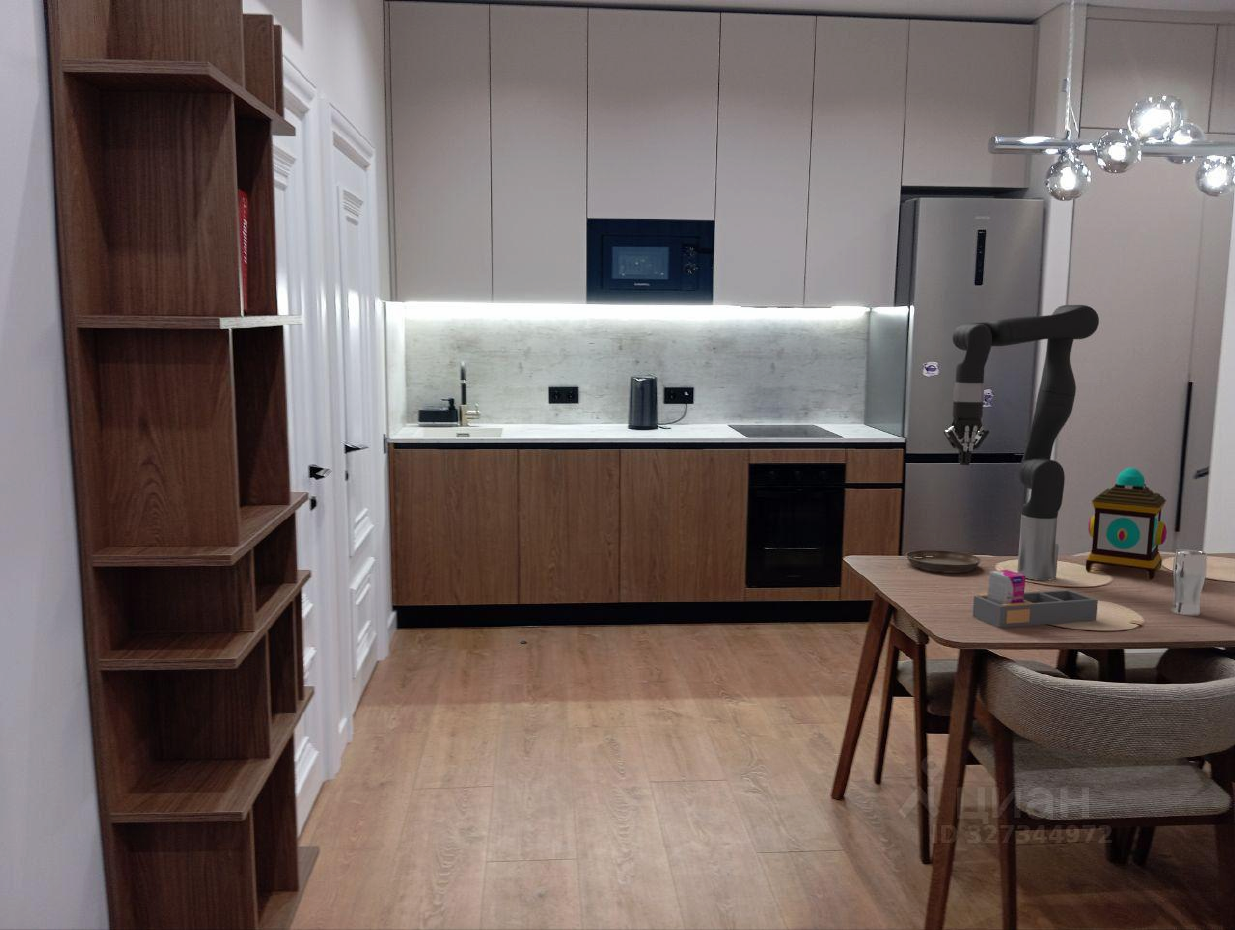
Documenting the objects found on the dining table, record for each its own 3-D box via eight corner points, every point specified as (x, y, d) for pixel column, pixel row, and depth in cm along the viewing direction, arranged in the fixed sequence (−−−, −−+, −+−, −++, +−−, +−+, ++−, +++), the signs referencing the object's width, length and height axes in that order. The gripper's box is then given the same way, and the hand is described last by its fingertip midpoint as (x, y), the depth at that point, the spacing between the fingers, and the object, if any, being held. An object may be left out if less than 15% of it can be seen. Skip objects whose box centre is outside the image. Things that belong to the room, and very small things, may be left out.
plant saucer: (895, 559, 293) (895, 548, 293) (962, 559, 294) (963, 548, 294) (920, 575, 273) (921, 564, 272) (992, 576, 274) (993, 564, 273)
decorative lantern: (1079, 572, 279) (1087, 467, 275) (1091, 560, 295) (1099, 461, 292) (1158, 583, 268) (1168, 474, 264) (1166, 569, 284) (1175, 467, 280)
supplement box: (1004, 625, 225) (1007, 576, 223) (984, 618, 230) (988, 571, 229) (1022, 622, 227) (1026, 574, 226) (1003, 616, 233) (1006, 568, 231)
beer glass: (1201, 618, 234) (1207, 556, 232) (1168, 613, 237) (1174, 552, 235) (1202, 611, 239) (1208, 551, 238) (1170, 607, 243) (1175, 547, 241)
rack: (1067, 609, 239) (1068, 588, 239) (1097, 620, 230) (1098, 598, 229) (972, 616, 232) (974, 594, 231) (999, 628, 222) (1001, 605, 222)
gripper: (980, 399, 264) (976, 462, 267) (938, 399, 261) (934, 463, 263) (998, 400, 257) (994, 466, 259) (955, 400, 254) (951, 467, 256)
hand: (964, 464), depth 261 cm, fingers closed
